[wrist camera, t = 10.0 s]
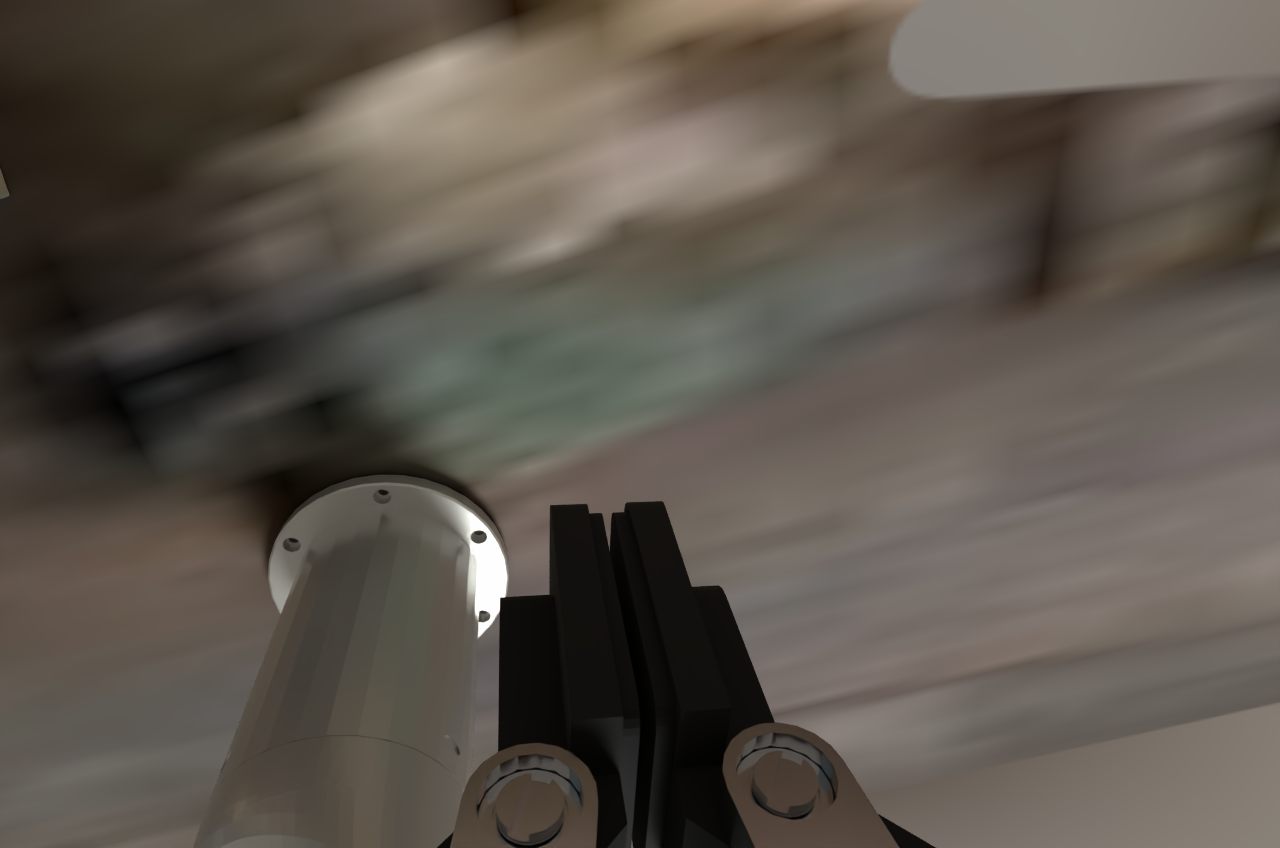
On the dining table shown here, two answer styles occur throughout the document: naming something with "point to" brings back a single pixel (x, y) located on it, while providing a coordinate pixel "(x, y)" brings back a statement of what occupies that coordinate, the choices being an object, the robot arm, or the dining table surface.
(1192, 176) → the dining table surface
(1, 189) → the stack of blocks
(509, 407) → the dining table surface
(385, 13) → the dining table surface
